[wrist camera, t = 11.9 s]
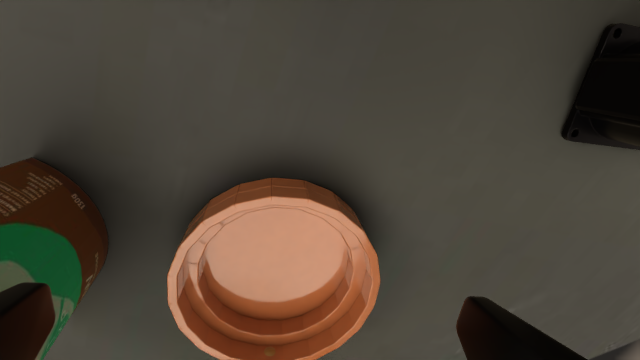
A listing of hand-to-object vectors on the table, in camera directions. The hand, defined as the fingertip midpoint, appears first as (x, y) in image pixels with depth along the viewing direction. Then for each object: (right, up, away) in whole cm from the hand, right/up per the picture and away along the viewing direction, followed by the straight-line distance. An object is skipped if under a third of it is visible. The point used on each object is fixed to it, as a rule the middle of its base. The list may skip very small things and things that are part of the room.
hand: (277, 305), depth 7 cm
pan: (-2, -2, +13) cm, 13 cm away
